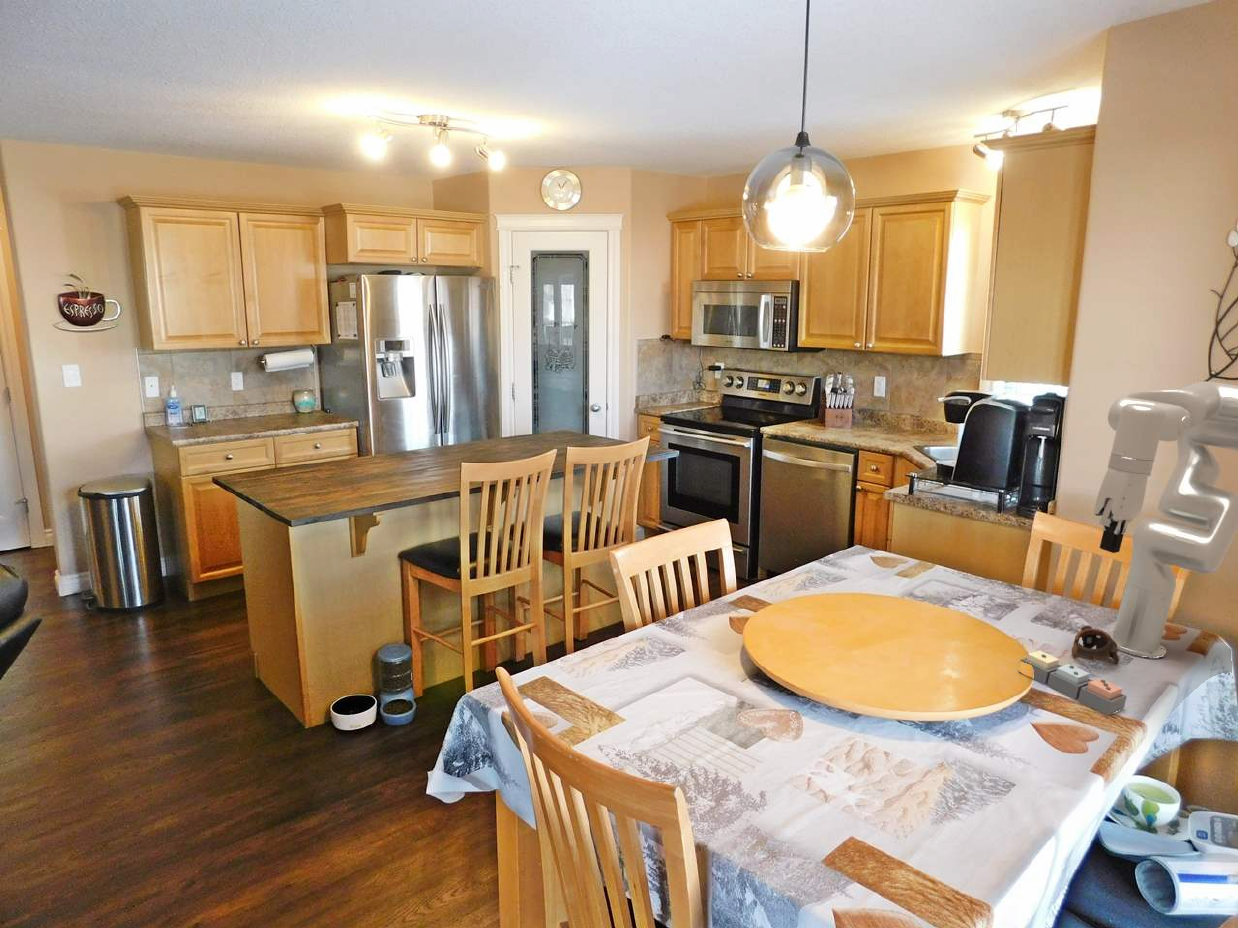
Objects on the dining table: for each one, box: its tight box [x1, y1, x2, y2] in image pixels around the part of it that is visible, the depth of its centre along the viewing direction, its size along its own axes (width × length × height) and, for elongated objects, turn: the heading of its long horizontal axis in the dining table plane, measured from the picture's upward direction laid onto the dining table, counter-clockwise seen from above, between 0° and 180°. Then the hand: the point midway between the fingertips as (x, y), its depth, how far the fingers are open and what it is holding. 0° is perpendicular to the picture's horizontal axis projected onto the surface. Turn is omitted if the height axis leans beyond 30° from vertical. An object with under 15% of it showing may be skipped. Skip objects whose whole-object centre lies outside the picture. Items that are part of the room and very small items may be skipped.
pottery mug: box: [1071, 625, 1120, 666], centre depth 184 cm, size 12×10×8 cm
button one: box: [1026, 650, 1060, 670], centre depth 173 cm, size 4×4×4 cm
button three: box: [1087, 678, 1123, 700], centre depth 162 cm, size 4×4×4 cm
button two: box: [1056, 663, 1091, 685], centre depth 167 cm, size 4×4×4 cm
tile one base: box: [1020, 656, 1063, 686], centre depth 173 cm, size 6×6×3 cm
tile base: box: [1077, 685, 1128, 716], centre depth 162 cm, size 6×6×3 cm
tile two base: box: [1046, 671, 1094, 701], centre depth 168 cm, size 6×6×3 cm
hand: (1109, 550), depth 167 cm, fingers closed
